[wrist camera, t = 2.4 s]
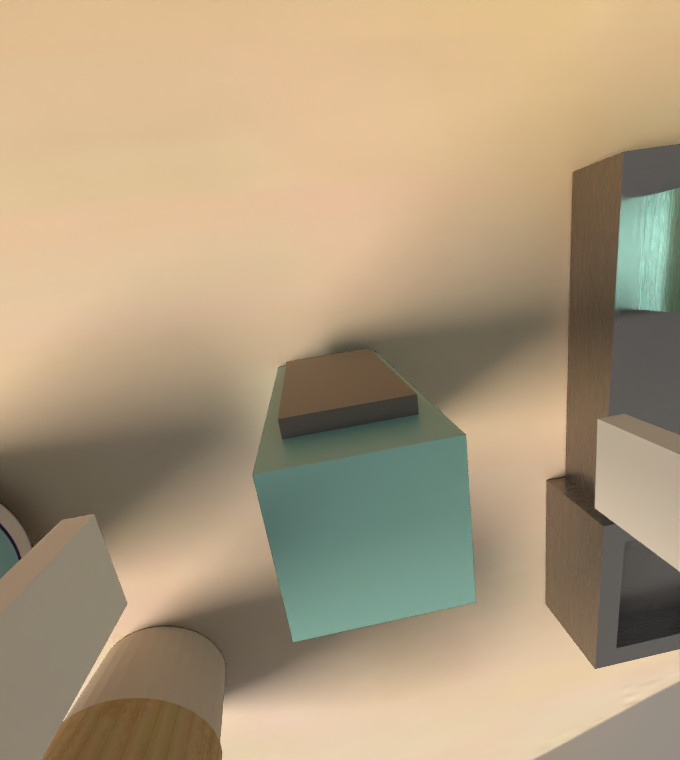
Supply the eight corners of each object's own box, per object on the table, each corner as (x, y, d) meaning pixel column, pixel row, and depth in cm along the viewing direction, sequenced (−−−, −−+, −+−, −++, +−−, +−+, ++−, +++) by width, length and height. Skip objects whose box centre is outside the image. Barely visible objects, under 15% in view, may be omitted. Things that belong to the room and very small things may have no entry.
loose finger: (276, 355, 15) (246, 451, 7) (373, 339, 16) (464, 411, 7) (296, 455, 17) (293, 642, 8) (385, 438, 17) (476, 602, 8)
